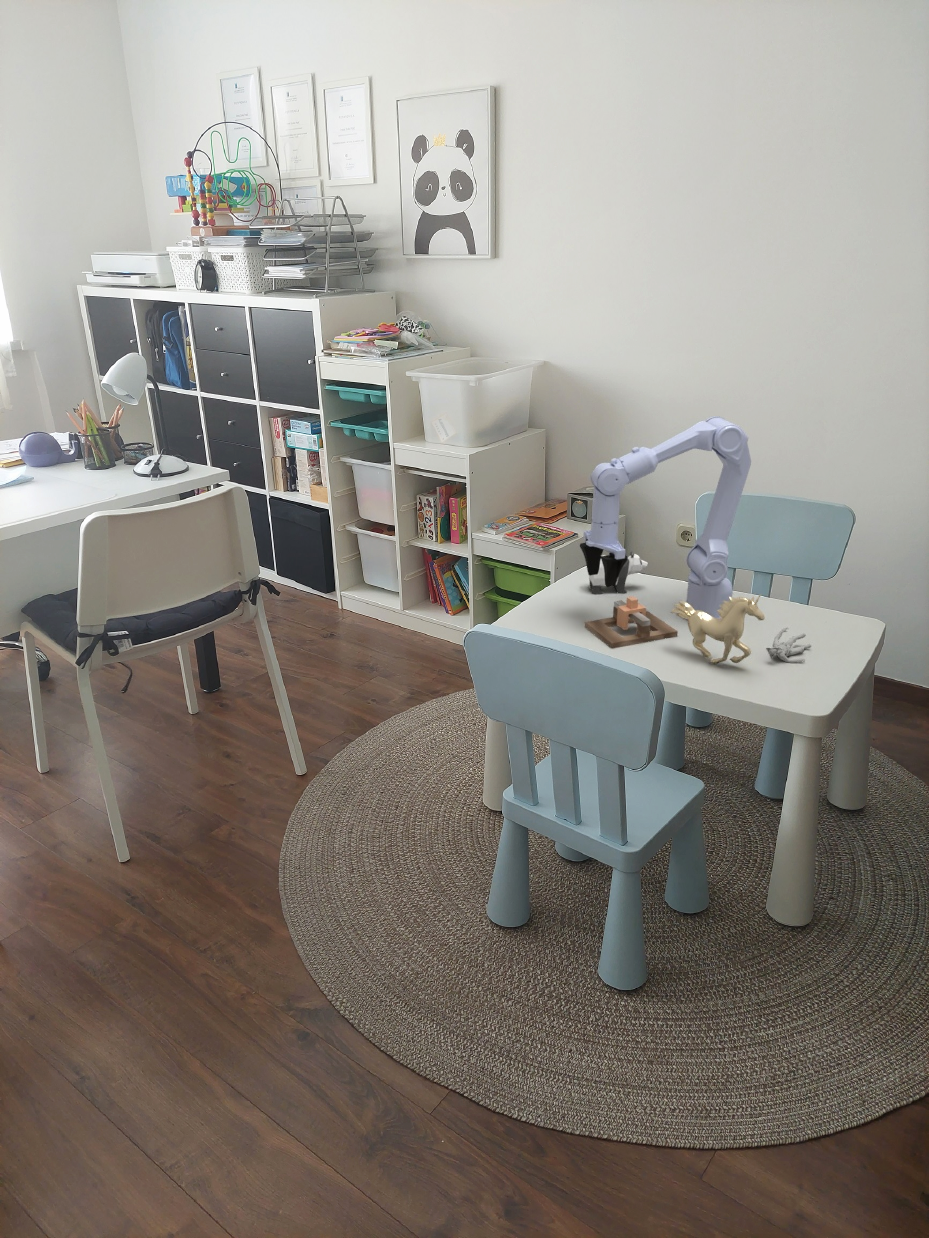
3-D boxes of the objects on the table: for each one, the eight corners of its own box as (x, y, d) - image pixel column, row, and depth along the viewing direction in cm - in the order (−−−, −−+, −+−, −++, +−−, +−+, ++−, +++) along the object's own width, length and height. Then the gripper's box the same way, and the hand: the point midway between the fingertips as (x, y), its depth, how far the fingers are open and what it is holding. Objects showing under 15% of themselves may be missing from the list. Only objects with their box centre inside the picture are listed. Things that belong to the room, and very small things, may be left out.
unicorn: (662, 650, 186) (669, 573, 179) (672, 644, 188) (679, 568, 181) (751, 679, 173) (762, 598, 166) (761, 672, 175) (772, 592, 169)
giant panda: (588, 595, 214) (590, 557, 210) (584, 586, 219) (586, 550, 215) (648, 593, 215) (651, 555, 211) (643, 584, 220) (645, 548, 216)
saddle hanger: (637, 620, 196) (639, 594, 193) (644, 626, 193) (646, 599, 191) (616, 624, 194) (618, 597, 192) (623, 629, 192) (625, 602, 189)
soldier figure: (819, 658, 183) (797, 660, 174) (798, 669, 186) (775, 671, 177) (801, 625, 186) (778, 625, 177) (781, 636, 189) (758, 636, 180)
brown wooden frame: (647, 616, 202) (649, 595, 200) (677, 636, 192) (679, 614, 190) (584, 627, 197) (585, 606, 195) (611, 648, 187) (613, 626, 185)
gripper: (572, 513, 195) (569, 571, 200) (605, 532, 182) (602, 594, 188) (600, 509, 197) (597, 567, 202) (635, 528, 185) (631, 589, 190)
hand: (601, 580), depth 195 cm, fingers open, 7 cm apart
